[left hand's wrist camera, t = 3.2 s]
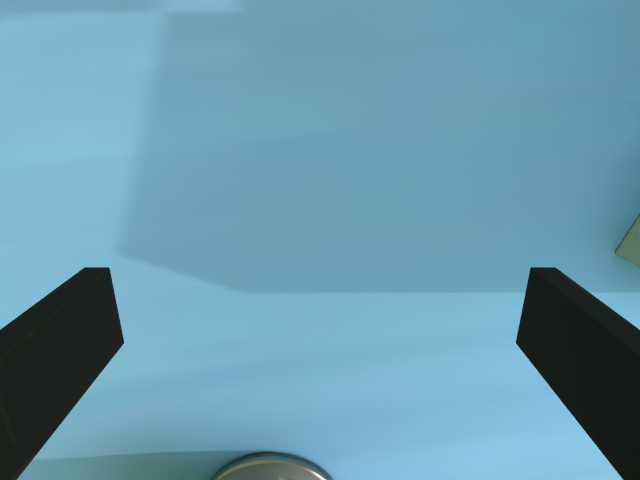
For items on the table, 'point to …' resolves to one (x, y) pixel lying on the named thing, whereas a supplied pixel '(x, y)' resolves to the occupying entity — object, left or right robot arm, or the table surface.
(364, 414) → the table surface
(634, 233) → the cabinet
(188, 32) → the table surface
